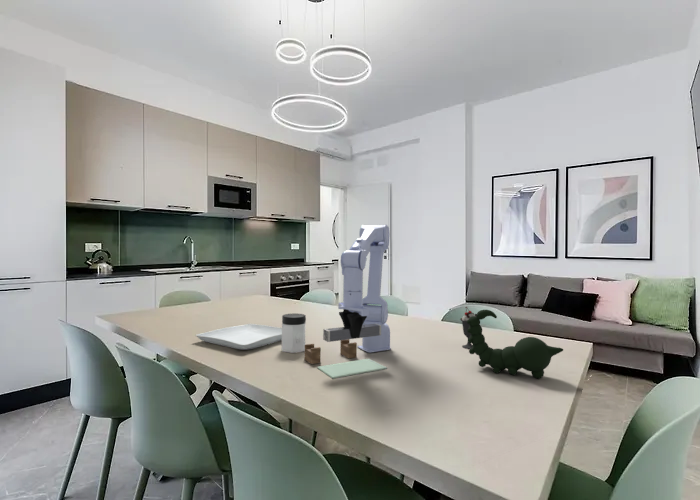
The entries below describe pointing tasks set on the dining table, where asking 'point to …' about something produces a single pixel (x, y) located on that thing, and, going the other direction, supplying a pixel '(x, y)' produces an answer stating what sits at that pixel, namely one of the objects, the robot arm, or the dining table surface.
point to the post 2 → (348, 349)
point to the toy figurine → (510, 350)
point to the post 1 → (312, 354)
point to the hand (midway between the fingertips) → (352, 336)
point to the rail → (345, 332)
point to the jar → (293, 332)
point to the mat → (351, 368)
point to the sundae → (466, 326)
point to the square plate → (243, 336)
